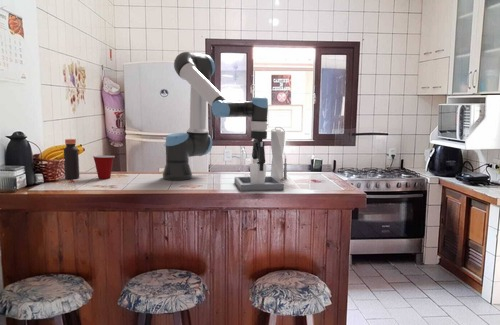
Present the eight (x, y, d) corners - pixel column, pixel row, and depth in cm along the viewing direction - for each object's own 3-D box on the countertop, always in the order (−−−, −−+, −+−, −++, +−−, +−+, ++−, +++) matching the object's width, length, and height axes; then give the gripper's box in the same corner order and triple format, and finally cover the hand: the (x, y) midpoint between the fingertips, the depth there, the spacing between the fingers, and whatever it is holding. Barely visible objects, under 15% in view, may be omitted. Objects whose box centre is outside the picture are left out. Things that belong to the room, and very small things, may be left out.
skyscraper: (282, 181, 211) (284, 127, 207) (267, 180, 214) (268, 126, 210) (287, 178, 219) (288, 126, 215) (272, 177, 222) (273, 125, 218)
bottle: (75, 179, 207) (74, 140, 204) (62, 179, 207) (60, 139, 204) (81, 177, 213) (80, 138, 210) (68, 177, 213) (66, 138, 211)
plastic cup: (119, 176, 216) (118, 154, 214) (109, 180, 206) (108, 156, 204) (100, 176, 218) (99, 153, 216) (89, 179, 208) (88, 156, 206)
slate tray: (234, 182, 205) (234, 176, 204) (273, 182, 208) (273, 176, 208) (240, 191, 185) (240, 184, 185) (283, 190, 189) (283, 183, 188)
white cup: (264, 187, 192) (264, 166, 191) (247, 186, 194) (248, 165, 192) (267, 184, 200) (267, 163, 198) (251, 183, 201) (251, 163, 200)
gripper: (272, 132, 181) (271, 179, 185) (261, 128, 206) (260, 170, 209) (256, 132, 180) (254, 180, 183) (246, 128, 204) (245, 170, 208)
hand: (257, 174), depth 196 cm, fingers open, 13 cm apart
